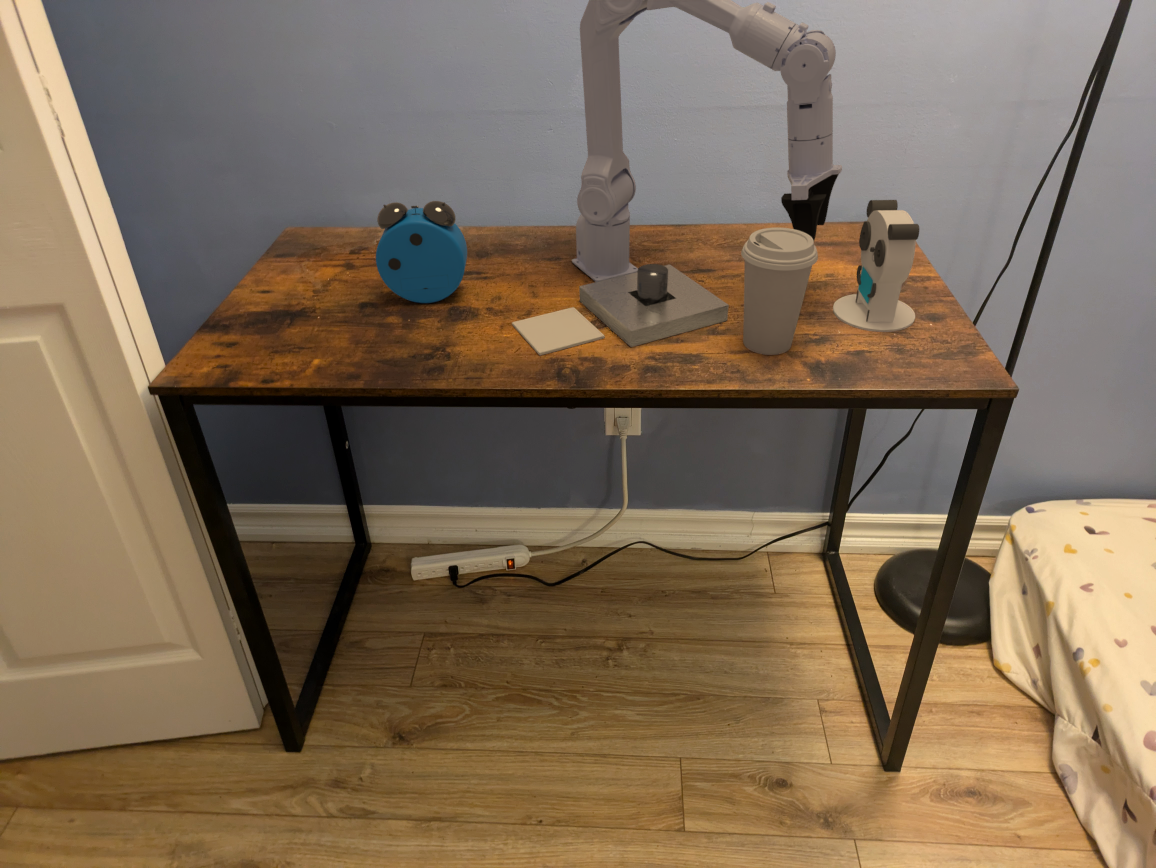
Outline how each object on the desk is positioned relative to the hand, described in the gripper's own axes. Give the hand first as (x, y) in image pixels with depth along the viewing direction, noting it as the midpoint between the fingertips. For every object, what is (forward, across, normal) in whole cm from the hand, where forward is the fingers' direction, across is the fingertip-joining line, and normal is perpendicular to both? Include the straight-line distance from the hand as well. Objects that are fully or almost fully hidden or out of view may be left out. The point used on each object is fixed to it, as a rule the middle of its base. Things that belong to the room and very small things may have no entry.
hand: (811, 234), depth 109 cm
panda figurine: (+12, 0, -8) cm, 15 cm away
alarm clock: (+2, -20, +55) cm, 58 cm away
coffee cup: (+10, -14, +3) cm, 18 cm away
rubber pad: (+5, -22, +31) cm, 39 cm away
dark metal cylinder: (+7, -11, +21) cm, 25 cm away
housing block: (+7, -11, +21) cm, 25 cm away
